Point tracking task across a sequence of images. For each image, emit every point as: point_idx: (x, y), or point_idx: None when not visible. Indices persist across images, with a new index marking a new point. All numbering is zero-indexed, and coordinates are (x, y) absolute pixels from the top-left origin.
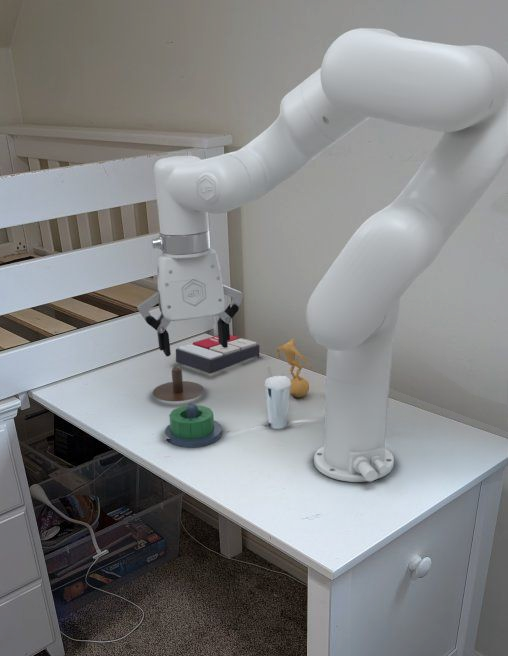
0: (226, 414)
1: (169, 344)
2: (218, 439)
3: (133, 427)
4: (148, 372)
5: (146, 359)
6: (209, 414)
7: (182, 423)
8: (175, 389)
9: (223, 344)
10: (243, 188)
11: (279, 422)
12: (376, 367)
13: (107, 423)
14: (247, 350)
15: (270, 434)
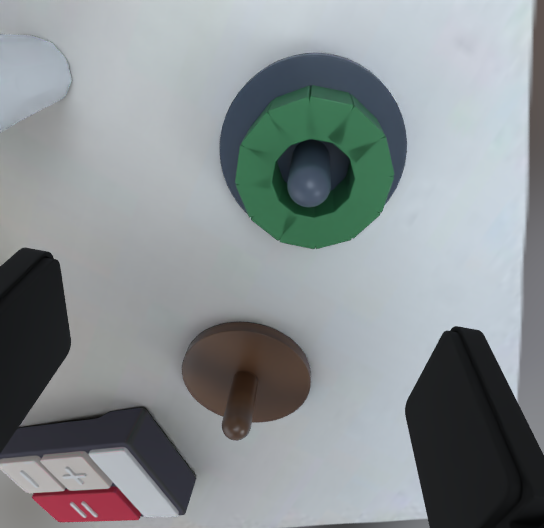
0: (172, 223)
1: (476, 391)
2: (257, 73)
3: (434, 281)
4: (261, 479)
5: (241, 517)
6: (257, 139)
7: (376, 125)
8: (254, 382)
9: (43, 266)
10: None
11: (28, 39)
12: None
13: None
14: (26, 449)
15: (82, 16)
